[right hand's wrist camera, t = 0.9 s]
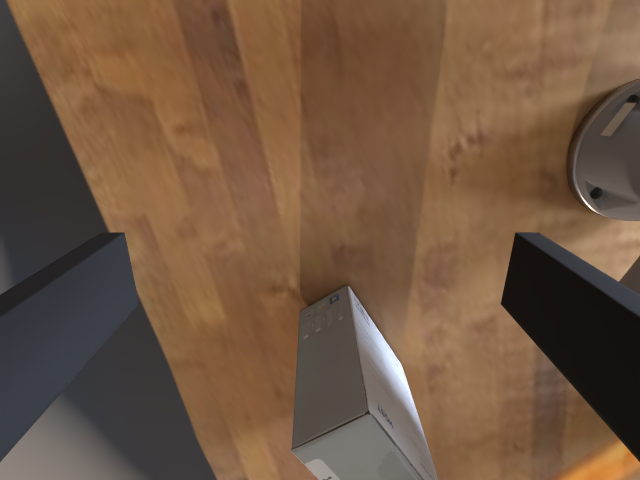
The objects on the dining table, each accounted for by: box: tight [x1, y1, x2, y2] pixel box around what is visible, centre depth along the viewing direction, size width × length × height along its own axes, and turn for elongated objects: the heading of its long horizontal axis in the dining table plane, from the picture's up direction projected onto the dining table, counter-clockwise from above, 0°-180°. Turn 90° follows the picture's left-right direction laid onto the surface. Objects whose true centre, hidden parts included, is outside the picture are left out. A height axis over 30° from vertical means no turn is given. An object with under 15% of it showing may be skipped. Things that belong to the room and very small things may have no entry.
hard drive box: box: [291, 286, 439, 480], centre depth 40 cm, size 16×8×20 cm, turn 32°
